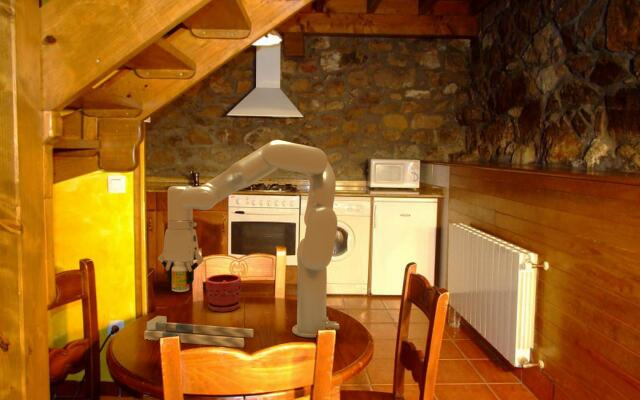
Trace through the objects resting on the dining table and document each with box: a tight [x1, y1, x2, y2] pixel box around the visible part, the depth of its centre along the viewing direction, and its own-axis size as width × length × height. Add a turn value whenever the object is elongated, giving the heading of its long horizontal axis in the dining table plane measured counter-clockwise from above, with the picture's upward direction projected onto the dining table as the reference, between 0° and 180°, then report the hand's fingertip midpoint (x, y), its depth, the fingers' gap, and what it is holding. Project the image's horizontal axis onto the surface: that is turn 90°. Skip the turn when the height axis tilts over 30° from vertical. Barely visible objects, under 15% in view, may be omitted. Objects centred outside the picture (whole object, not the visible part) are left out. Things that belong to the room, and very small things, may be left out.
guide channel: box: [143, 315, 254, 348], centre depth 161 cm, size 32×10×5 cm, turn 79°
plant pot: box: [205, 273, 242, 313], centre depth 194 cm, size 13×13×12 cm
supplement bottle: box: [171, 261, 190, 293], centre depth 161 cm, size 5×5×10 cm
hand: (180, 282), depth 162 cm, fingers closed on supplement bottle, 5 cm apart
